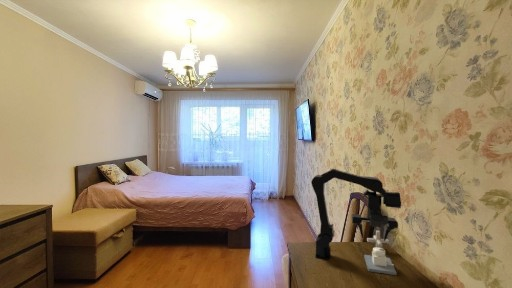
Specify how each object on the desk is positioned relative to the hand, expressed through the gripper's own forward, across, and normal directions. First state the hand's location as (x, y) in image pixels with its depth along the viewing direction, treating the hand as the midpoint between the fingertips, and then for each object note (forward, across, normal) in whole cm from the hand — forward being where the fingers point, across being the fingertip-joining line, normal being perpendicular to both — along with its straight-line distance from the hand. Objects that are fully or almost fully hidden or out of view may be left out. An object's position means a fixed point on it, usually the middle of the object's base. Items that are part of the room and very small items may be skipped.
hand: (373, 239), depth 113 cm
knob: (+10, +3, -1) cm, 11 cm away
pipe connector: (+12, +5, +15) cm, 20 cm away
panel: (+12, +3, -1) cm, 12 cm away
